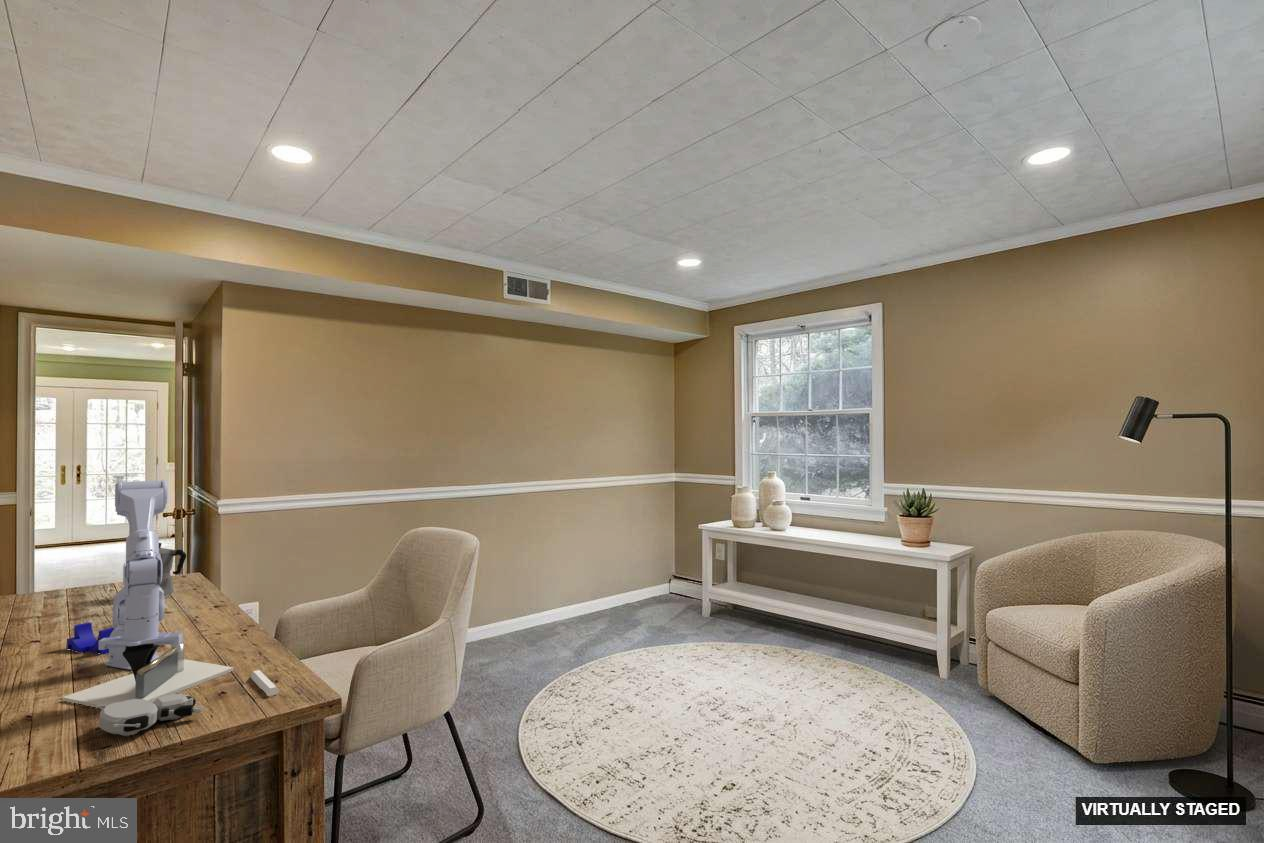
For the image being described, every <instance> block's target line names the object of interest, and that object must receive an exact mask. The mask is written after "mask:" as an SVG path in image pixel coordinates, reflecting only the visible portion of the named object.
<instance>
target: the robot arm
mask: <svg viewBox="0 0 1264 843" xmlns="http://www.w3.org/2000/svg"><path fill="white" fill-rule="evenodd" d="M114 488H115V489H114V507H115V512H116V515H117V516H121V517H125V518H126V521H127V522H128V525H129V526H128V527H129V531H128V534H129V535H128V536H127V537H126V539H125V563H124V564H123V566H122V567H123V568H122V569H123V571H122V584H123V588H121V589H119V590H118V591H117V592H115V593H114V596H113V602H112V627H114V628H115V629H114V630H113V631H112V633H111V635H110V638H103V639H101V640H100V641H99V650H105V649H108V648H109V653H108V661H106V662H105V663H104V666H107V667H112V668H119V669H123V670H130V671H132V674H134V677H135V682H136V675H137V671H138V670H140V669H141V668H143V667H144V666H146V665H147V664H149V663H150V662H152V661H153V660H155V659H156V658H158V657H159V656H160V655H157V654H158V653H157V652H158V648H159V646H162V645H163V646H164V645H172V644H173V645H179V644H180V643H181V642H183V641H184V640H183V636H184V635H183V634H184V633H183V632H177V633H173V632H159V626H160V625H159V622H162V621H163V619H164V617H165V598H164V591H163V590H162V588H161V587H159V584H158V583H157V576H158V578H159V581H160V584H161V581H162V571H163V568H162V560H161V556H160V554H159V543H160V542H159V541H160V540H159V535H158V533H156V532H154V531H153V523H154V518H155V516H156V515H158V514H161V513H164V510H165V509H166V508H167V507H166V506H167V503H168V481H166V480H165V479H162V480H142V481H139V480H137V481H135V480H134V481H119V480H118V481H117V482H116V483H115V485H114Z"/></svg>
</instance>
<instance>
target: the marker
mask: <svg viewBox="0 0 1264 843" xmlns="http://www.w3.org/2000/svg"><path fill="white" fill-rule="evenodd" d="M249 678H250V679H251V680H252V682H254V684H256V686H258V688H259V689H260V690H261V689H262V690H263V691H264V692H265V693H266V694H265V693H264V692H263V691H262V692H263V693H264V694H265V695H266V696H267V697H268V696H270V695H274V694H277V693H278V694H279V693H280V690H279V688H278V687H277V685H275V683H273V682H272V681H271V680H270V679H269V678H268V677H267V676H266V675H265V674H264V673H263V672H262V671H261V670H260V669H257V670H254V671H252V673H251V674H250V676H249Z"/></svg>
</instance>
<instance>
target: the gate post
mask: <svg viewBox="0 0 1264 843" xmlns="http://www.w3.org/2000/svg"><path fill="white" fill-rule="evenodd" d="M170 646H171V647H170V649H171V648H173V647H176V648H177V651H178V672H182V671H183V670H184V659H185V642H181V643H180V644H179V645H173V644H170ZM178 672H176V673H178Z"/></svg>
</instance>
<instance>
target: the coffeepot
mask: <svg viewBox="0 0 1264 843" xmlns="http://www.w3.org/2000/svg"><path fill="white" fill-rule="evenodd" d="M159 554H160V556H161V560H162V568H163V571H162V581H161V584H160V581H159V578H158V576H157V583H158V584H159V587H161V588H162V590H163V591H164V596H166V595H170V594H172V593H173V592H174V593H175V590H174V585H173V580H172V578H173V577H172V576H171V571H172V569H173V568H172V567H173V563H174V559H175V558H174V557H175V556H176V557H177V556H180V557H179V559H178V564H177V566H176V570H175V571H172V574H173V575H179V574H181V573H182V569H183V566H184V563H185V561H186V558H187V554H186V553H185V551H184V550H183V549H172V548H171V549H170V548H163V547H162V542H159Z"/></svg>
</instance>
